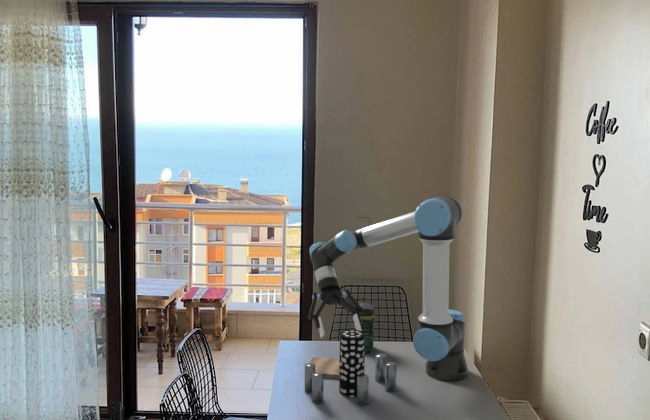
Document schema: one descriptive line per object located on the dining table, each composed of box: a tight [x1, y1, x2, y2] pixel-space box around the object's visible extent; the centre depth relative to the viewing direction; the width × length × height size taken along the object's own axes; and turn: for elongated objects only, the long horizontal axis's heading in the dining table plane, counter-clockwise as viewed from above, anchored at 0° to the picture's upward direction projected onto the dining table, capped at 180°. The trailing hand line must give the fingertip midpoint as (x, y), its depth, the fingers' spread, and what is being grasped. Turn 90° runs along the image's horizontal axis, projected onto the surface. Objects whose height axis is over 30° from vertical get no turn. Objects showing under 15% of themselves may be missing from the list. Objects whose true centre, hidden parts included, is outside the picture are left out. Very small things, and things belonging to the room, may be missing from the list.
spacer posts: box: [304, 352, 397, 407], centre depth 181 cm, size 30×24×9 cm
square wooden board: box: [309, 356, 340, 380], centre depth 198 cm, size 14×14×2 cm
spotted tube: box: [338, 329, 366, 398], centre depth 179 cm, size 8×8×20 cm
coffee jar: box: [353, 302, 375, 354], centre depth 217 cm, size 10×8×19 cm
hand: (341, 334), depth 186 cm, fingers open, 13 cm apart
